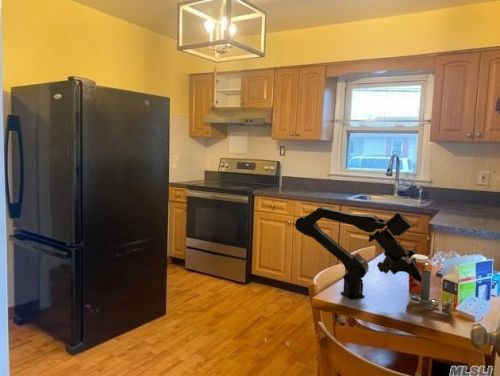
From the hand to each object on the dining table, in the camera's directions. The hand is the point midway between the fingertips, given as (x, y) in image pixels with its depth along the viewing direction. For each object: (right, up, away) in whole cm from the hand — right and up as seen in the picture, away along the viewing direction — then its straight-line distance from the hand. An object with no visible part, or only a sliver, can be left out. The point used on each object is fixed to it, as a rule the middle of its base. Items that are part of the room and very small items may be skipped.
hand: (421, 280), depth 131 cm
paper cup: (+7, -9, +18) cm, 22 cm away
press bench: (+2, -11, -1) cm, 11 cm away
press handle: (+2, -8, -1) cm, 9 cm away
